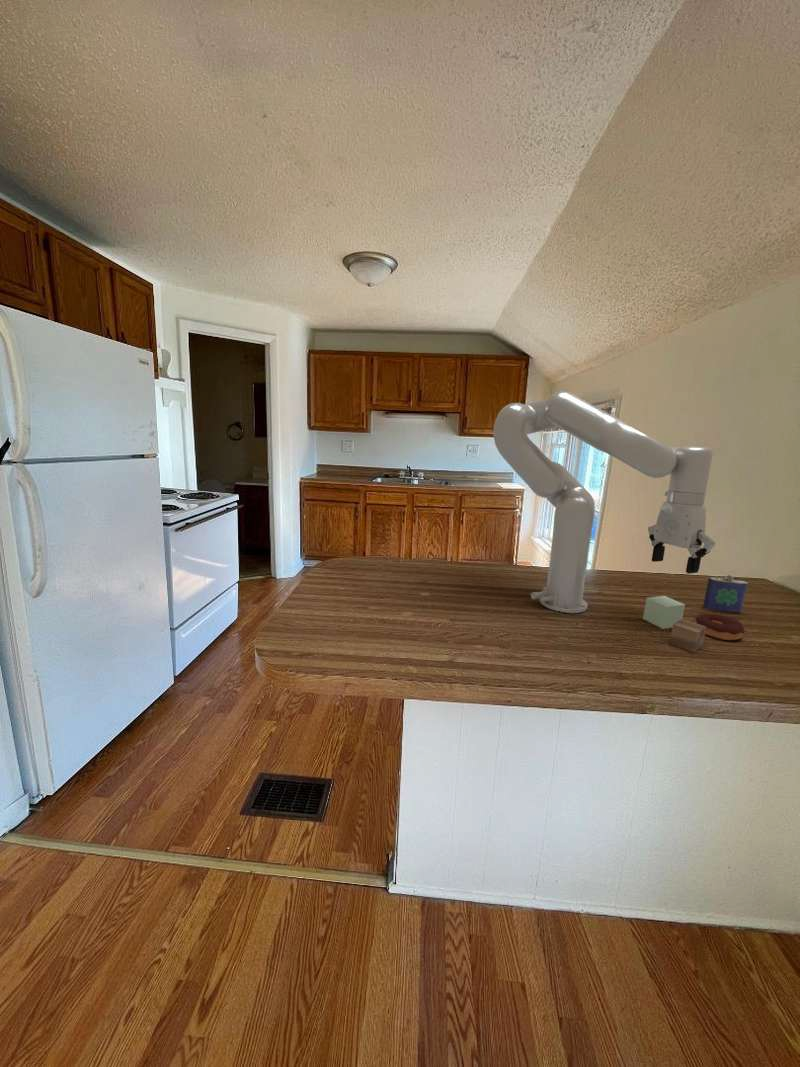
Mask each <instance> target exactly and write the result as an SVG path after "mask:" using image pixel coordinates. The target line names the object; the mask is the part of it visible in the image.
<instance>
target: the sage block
mask: <svg viewBox="0 0 800 1067" xmlns="http://www.w3.org/2000/svg"><path fill="white" fill-rule="evenodd" d="M644 605H645V606H644V610H643V616H642V620H645V621H646V622H648V623H651V624H653V625H654V626H657V627H658V628H659V629H662V630H664V629H670V628H673V624H674V623H676V622H678V621H679V620H681V619H683V616H684V612H685V608H686V604H685V603H682V602H680V601H677V600H676V599H673V598H671V597H668V596H667V595H660V596H651V597H646V600H645V604H644Z"/></svg>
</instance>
